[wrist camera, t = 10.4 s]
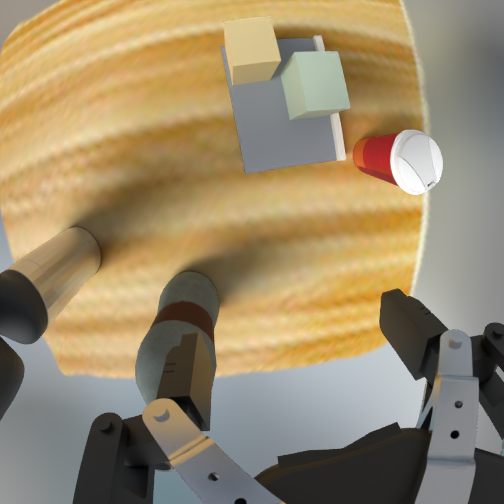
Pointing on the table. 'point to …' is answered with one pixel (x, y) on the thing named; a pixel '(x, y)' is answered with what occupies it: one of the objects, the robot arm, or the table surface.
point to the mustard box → (251, 49)
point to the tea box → (314, 85)
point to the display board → (281, 120)
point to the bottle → (176, 331)
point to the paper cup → (401, 160)
